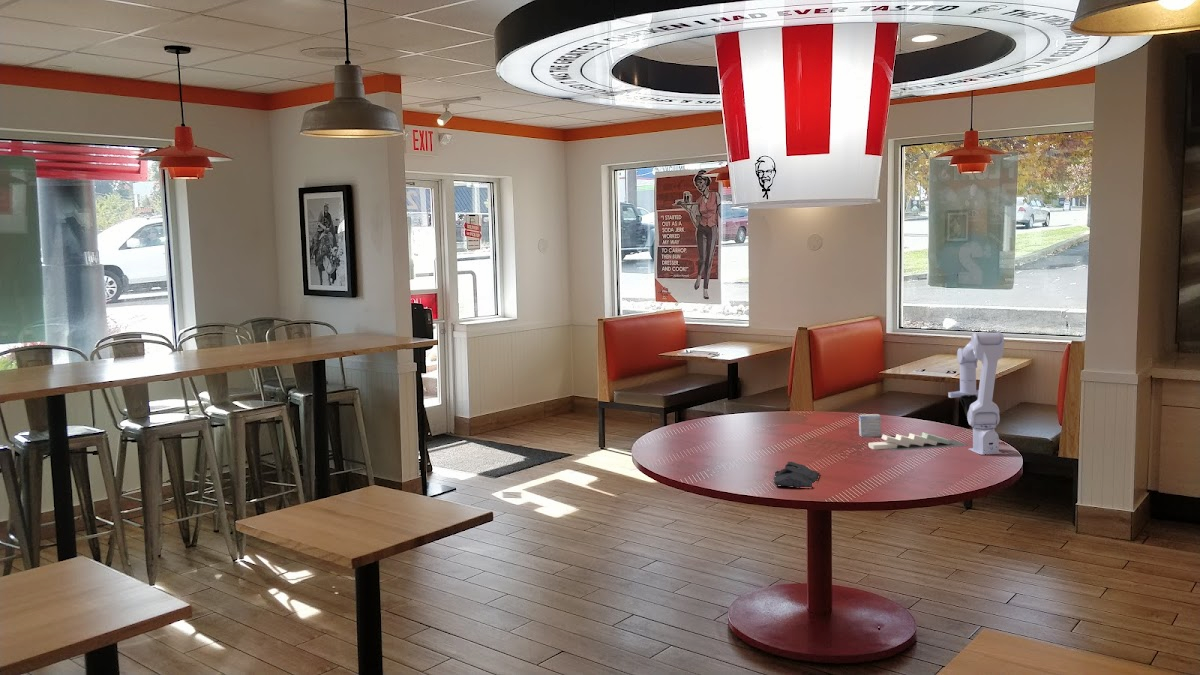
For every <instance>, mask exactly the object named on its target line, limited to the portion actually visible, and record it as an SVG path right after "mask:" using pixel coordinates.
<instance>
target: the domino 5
mask: <svg viewBox="0 0 1200 675" xmlns="http://www.w3.org/2000/svg"><path fill="white" fill-rule="evenodd" d="M920 436H922V437H924V438H926V439H930V440H933V441H937V442H941V443H944V444H948V445H949V444H950V440H951V439H947V438H945V437H941V436H937V435H934V434H931V433H927V432H924V431H922V433H921V435H920Z"/></svg>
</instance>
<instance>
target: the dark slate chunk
mask: <svg viewBox="0 0 1200 675" xmlns="http://www.w3.org/2000/svg"><path fill="white" fill-rule="evenodd" d="M774 473H775V476H776V477H773V484H774V485H775V486H776V485H781V486H793V487H812V483H814V482H815V481H817V479H818V476H819V474H820V472H818V471H817V470H813V469H811V468H809V467H808V466H806V465H804V464H800V463H797V462H794V461H787V463H786V464H785V466H784V468H783V469H781V470H776V471H775V472H774ZM820 475H821V474H820Z"/></svg>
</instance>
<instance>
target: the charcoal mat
mask: <svg viewBox="0 0 1200 675" xmlns="http://www.w3.org/2000/svg"><path fill="white" fill-rule="evenodd" d="M949 440H950V444H949V445H948V444H944V443H941V442H937V444H936V446H935V445H932V444H928V443H924V445H923V446H919V445H915V444H912V443H910V445H909V447H906V446H902V445H899V444H897V448H891V449H888V450H889V451H893V452H894V451H908V450H909V451H910V450H922V449H923V450H924V449H925V450H926V449H940V448H956V447H957V448H958V447H968V446H969V445H967V444H965V443H963V442H961V441H958V440H956V439H949Z"/></svg>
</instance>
